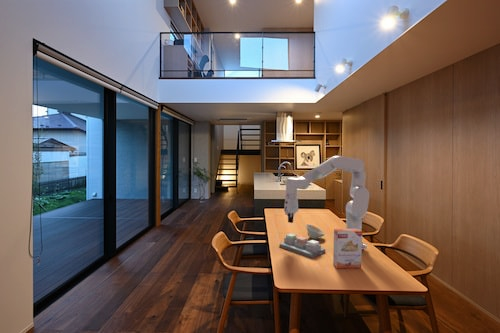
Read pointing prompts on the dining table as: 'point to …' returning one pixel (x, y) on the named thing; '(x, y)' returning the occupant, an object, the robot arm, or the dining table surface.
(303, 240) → the terracotta button
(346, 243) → the cracker box
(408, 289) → the dining table surface
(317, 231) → the bowl
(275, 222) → the dining table surface
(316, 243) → the cream button
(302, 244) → the button board
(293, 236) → the green button
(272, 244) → the dining table surface
